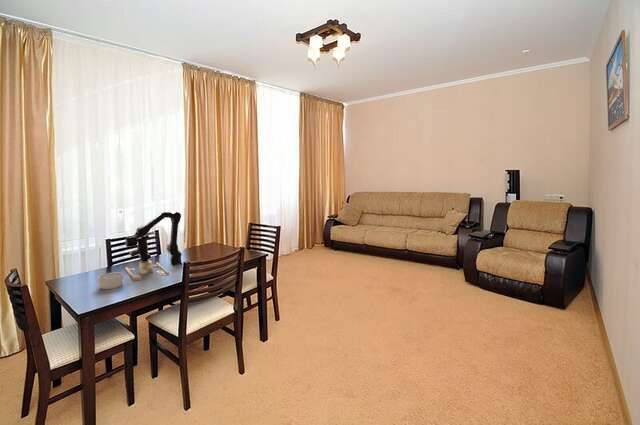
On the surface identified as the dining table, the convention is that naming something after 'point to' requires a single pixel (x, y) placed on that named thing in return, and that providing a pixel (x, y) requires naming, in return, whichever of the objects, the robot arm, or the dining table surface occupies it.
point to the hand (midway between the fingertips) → (144, 266)
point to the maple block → (145, 267)
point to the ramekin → (110, 280)
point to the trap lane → (161, 273)
